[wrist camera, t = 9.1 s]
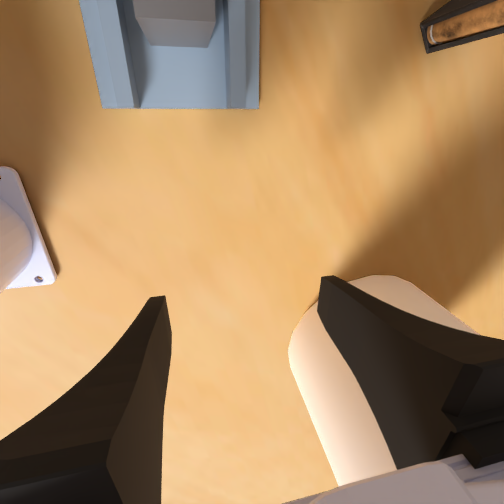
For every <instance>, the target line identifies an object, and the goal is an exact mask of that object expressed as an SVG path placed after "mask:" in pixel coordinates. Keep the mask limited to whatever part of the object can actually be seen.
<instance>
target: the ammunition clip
mask: <svg viewBox="0 0 504 504" xmlns="http://www.w3.org/2000/svg"><path fill="white" fill-rule="evenodd" d="M420 27H421V31H422V36H423V40H424V44H425V49H426V53H427V54H428V53H432V52H435V51H439V50H443V49H446V48H450V47H454V46H458V45H461V44H465V43H469V42H472V41H476V40H480V39H483V38H487V37H491V36H494V35H498V34H502V33H504V0H451V1H449V2H448V3H447V4H445V5H444V6H443V7H441V8H440V9H439V10H437V11H436V12H435V13H434V14H432V15H431V16H430V17H428V18H427V19H426V20H424V21H423V22H422V23H420Z"/></svg>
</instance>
